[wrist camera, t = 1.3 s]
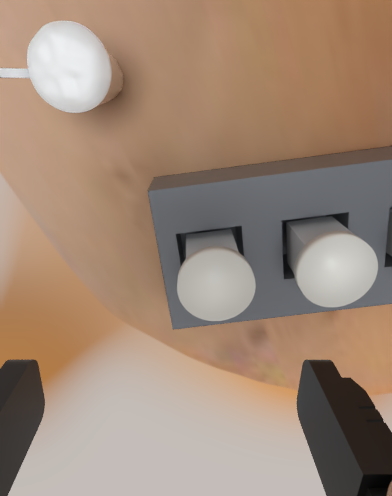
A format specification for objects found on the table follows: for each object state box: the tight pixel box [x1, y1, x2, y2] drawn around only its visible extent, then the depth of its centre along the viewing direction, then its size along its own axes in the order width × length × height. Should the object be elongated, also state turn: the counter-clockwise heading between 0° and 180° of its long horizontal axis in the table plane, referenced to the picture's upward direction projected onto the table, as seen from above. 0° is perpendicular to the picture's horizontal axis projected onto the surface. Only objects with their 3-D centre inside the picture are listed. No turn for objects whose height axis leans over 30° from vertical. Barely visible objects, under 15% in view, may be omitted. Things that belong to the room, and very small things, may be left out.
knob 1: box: [177, 229, 256, 321], centre depth 26 cm, size 5×5×6 cm
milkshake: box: [0, 21, 124, 113], centre depth 22 cm, size 4×5×10 cm
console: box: [148, 146, 392, 329], centre depth 29 cm, size 24×12×5 cm, turn 97°
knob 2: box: [286, 216, 378, 307], centre depth 26 cm, size 5×5×6 cm
